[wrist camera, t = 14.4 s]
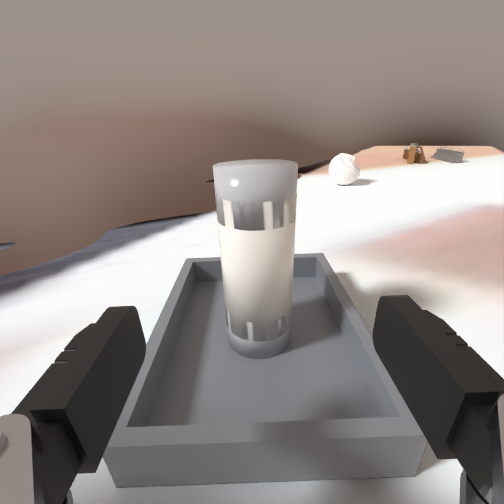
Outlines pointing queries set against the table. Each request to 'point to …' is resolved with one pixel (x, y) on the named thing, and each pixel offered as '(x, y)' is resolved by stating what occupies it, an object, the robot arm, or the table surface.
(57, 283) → the table surface
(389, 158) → the table surface
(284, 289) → the fuse
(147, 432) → the parts tray
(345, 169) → the white ball
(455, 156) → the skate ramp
